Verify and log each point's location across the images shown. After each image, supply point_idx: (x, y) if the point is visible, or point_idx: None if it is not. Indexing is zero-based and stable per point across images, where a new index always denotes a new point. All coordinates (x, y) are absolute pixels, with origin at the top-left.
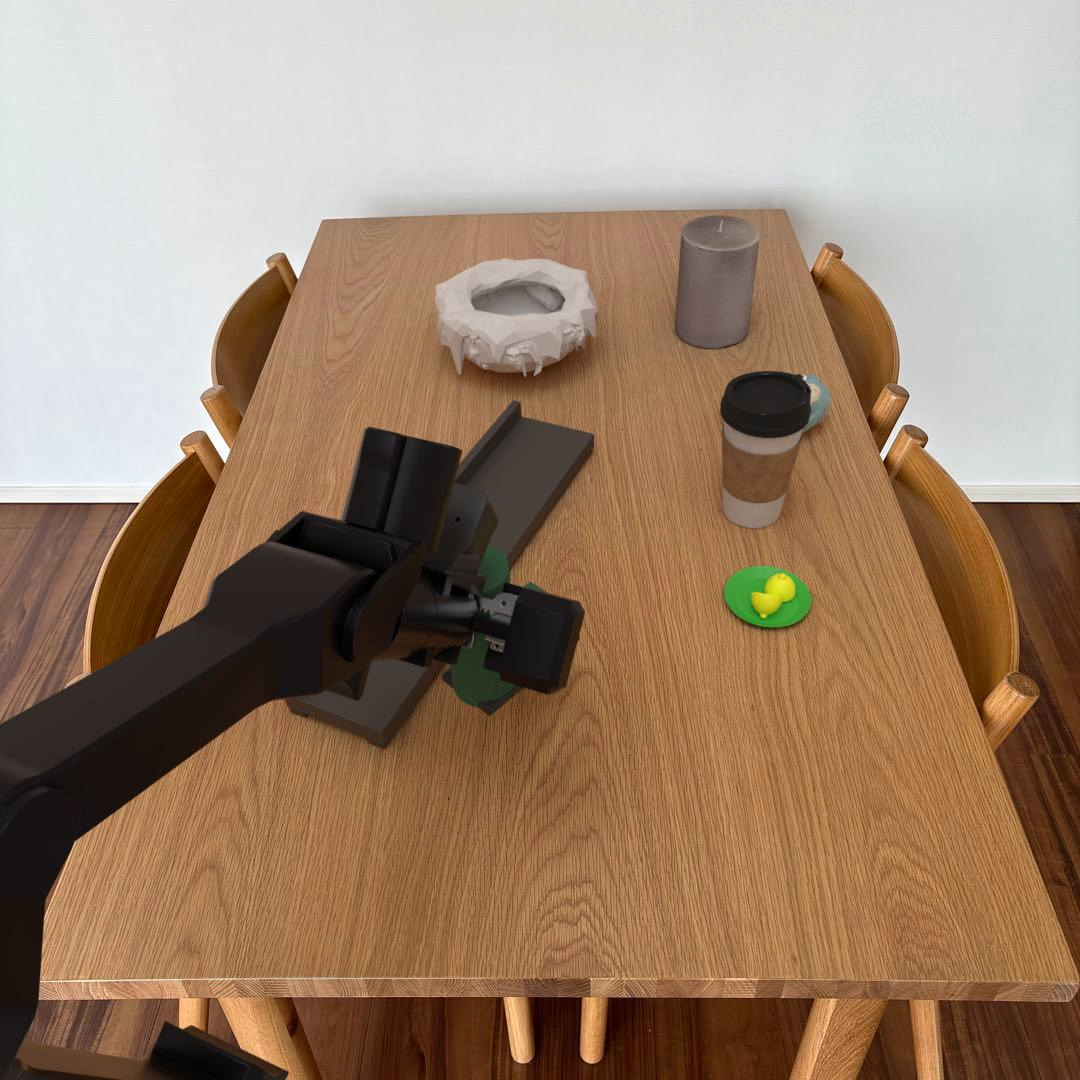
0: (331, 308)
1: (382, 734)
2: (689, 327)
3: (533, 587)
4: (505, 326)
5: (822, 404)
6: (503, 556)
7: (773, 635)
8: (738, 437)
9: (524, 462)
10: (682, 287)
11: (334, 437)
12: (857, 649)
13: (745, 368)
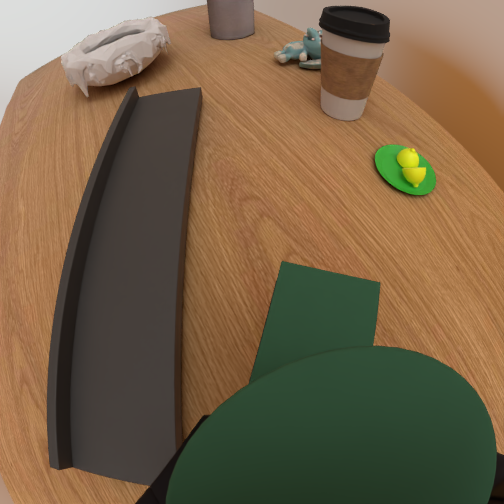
0: (17, 110)
1: None
2: (223, 30)
3: (294, 270)
4: (109, 48)
5: None
6: (445, 371)
7: (428, 199)
8: (350, 46)
9: (155, 123)
10: (213, 10)
11: (20, 176)
12: (467, 192)
13: (266, 42)
